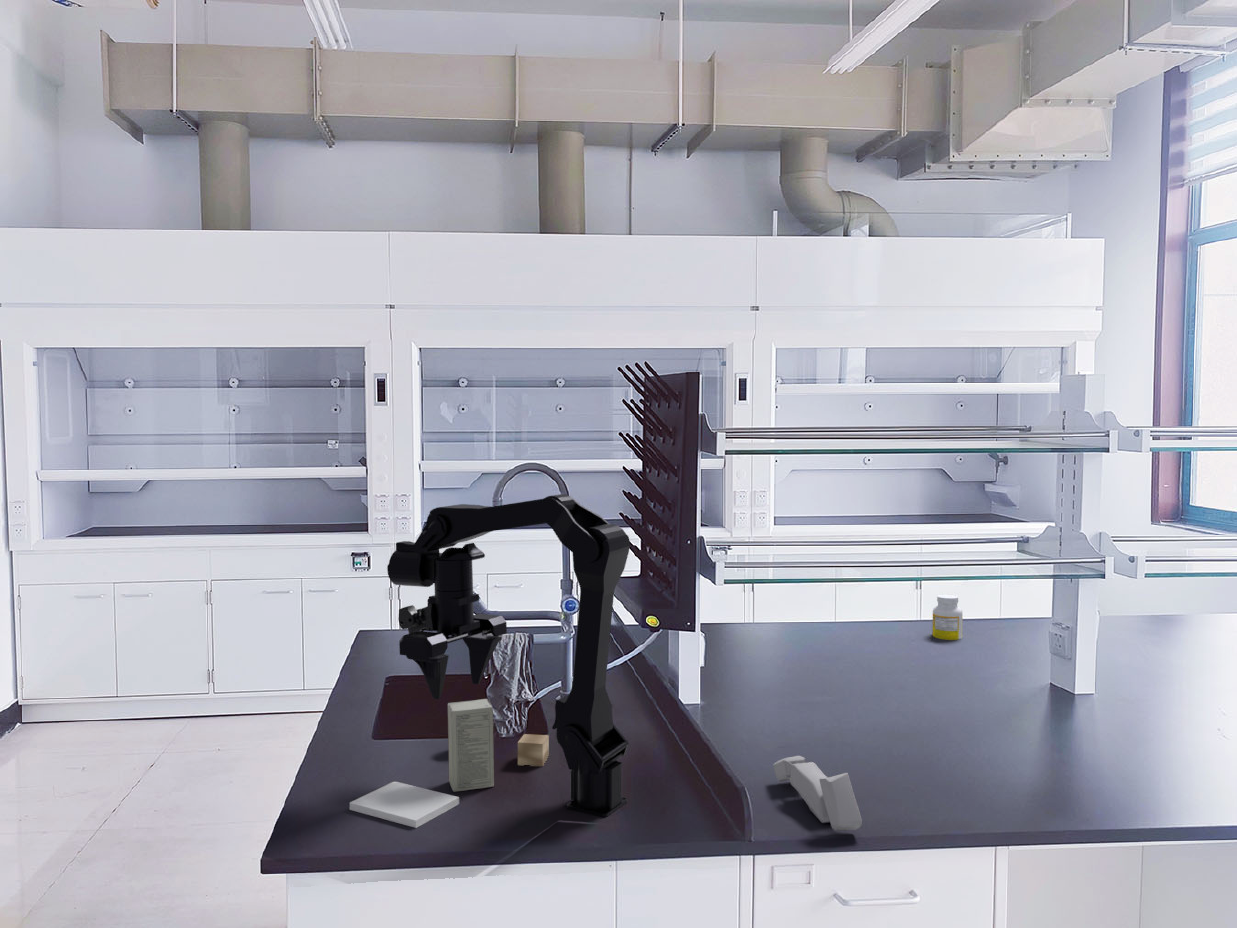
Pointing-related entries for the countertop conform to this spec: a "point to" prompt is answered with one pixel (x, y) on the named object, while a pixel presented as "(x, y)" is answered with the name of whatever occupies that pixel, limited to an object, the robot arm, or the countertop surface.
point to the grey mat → (404, 804)
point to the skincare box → (470, 745)
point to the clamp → (822, 792)
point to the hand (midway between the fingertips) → (456, 691)
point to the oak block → (533, 750)
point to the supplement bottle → (947, 618)
